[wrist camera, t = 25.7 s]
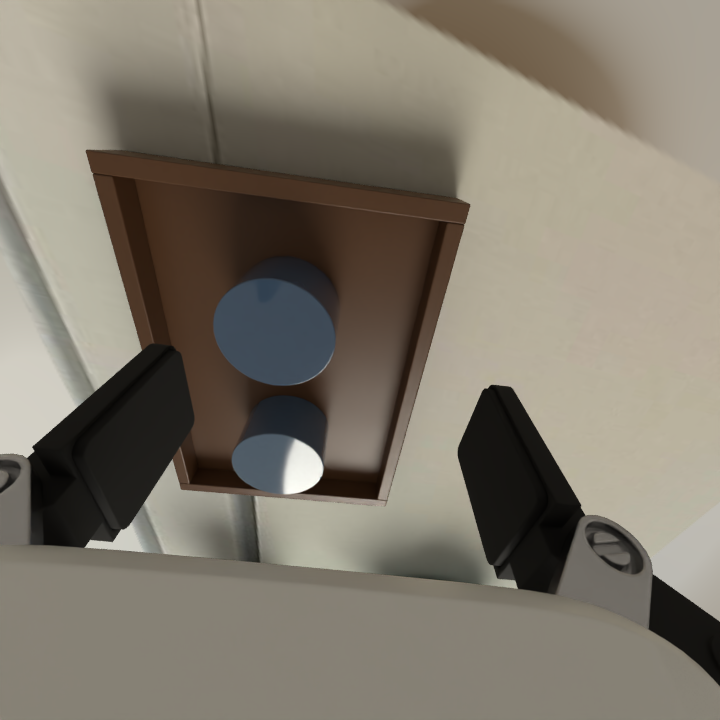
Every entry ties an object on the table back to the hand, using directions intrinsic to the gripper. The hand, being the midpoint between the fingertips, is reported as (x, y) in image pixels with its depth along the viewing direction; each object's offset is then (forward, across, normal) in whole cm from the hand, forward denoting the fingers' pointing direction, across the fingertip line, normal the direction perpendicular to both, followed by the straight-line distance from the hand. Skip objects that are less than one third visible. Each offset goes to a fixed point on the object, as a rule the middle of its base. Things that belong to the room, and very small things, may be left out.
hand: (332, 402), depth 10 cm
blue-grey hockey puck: (+8, +3, +1) cm, 9 cm away
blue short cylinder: (+8, +3, +10) cm, 13 cm away
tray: (+9, +3, +5) cm, 11 cm away
